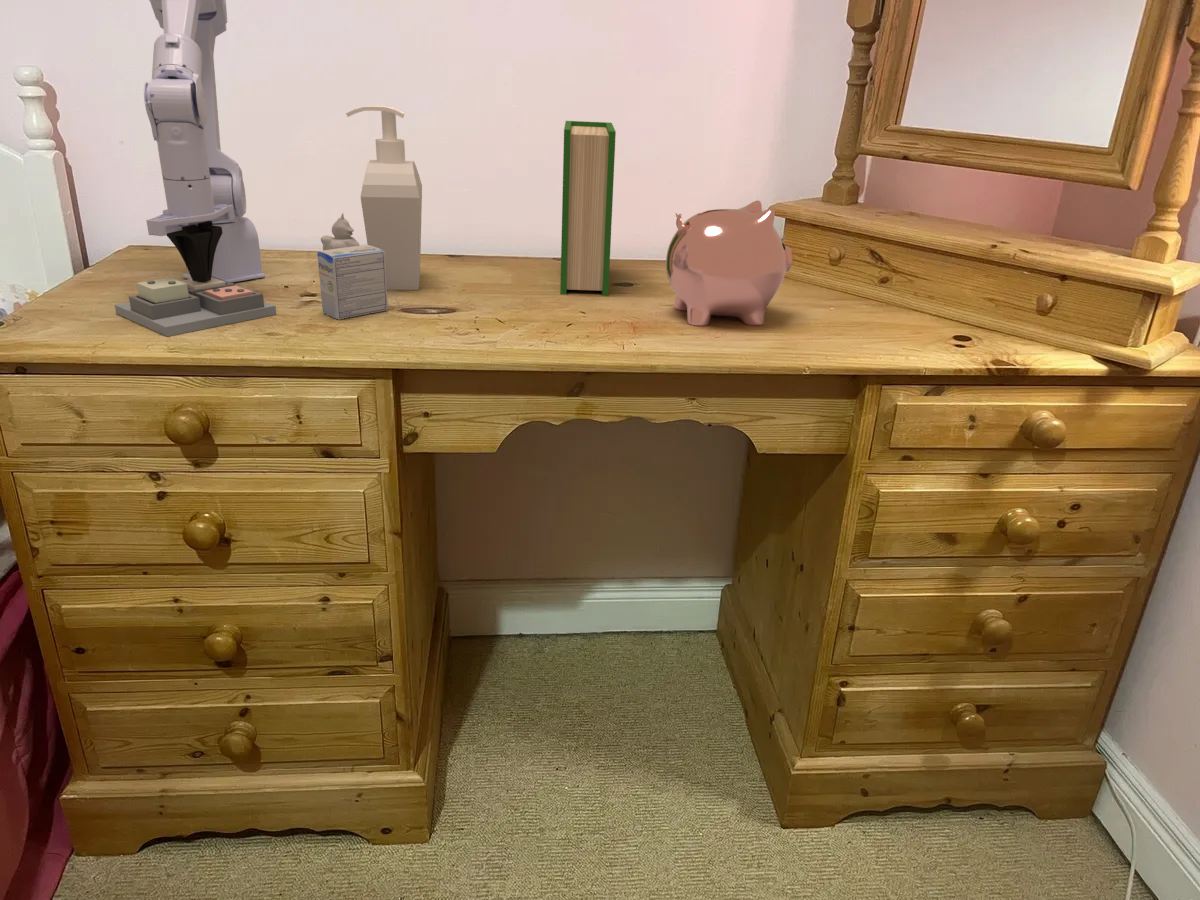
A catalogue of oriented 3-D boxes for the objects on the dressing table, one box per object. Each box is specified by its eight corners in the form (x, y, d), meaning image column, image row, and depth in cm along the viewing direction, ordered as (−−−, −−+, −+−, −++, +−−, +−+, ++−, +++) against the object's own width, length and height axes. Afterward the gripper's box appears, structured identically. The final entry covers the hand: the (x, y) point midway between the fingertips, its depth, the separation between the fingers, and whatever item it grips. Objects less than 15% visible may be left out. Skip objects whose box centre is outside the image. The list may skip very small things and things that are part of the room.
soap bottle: (362, 273, 143) (350, 102, 132) (425, 274, 144) (418, 105, 134) (355, 293, 131) (341, 107, 121) (423, 293, 133) (416, 110, 122)
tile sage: (172, 291, 117) (170, 276, 116) (188, 297, 114) (186, 282, 114) (138, 296, 114) (136, 281, 113) (155, 303, 111) (152, 287, 111)
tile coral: (237, 298, 121) (235, 283, 120) (254, 304, 118) (252, 290, 117) (206, 303, 117) (204, 289, 117) (223, 310, 115) (221, 295, 114)
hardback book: (608, 296, 136) (615, 131, 126) (560, 294, 136) (564, 129, 126) (605, 270, 152) (611, 122, 142) (562, 268, 152) (565, 120, 142)
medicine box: (372, 304, 126) (368, 243, 123) (389, 311, 123) (385, 249, 120) (321, 313, 121) (315, 250, 117) (338, 321, 118) (332, 256, 115)
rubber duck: (354, 263, 149) (351, 215, 146) (316, 261, 149) (312, 213, 146) (365, 257, 154) (362, 210, 151) (328, 255, 154) (324, 208, 151)
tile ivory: (210, 288, 125) (208, 274, 124) (227, 294, 122) (225, 280, 121) (180, 293, 121) (178, 279, 121) (196, 300, 119) (194, 285, 118)
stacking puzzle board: (222, 294, 128) (220, 274, 126) (276, 314, 120) (274, 292, 118) (116, 313, 117) (111, 291, 116) (167, 336, 109) (163, 312, 108)
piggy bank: (801, 330, 123) (817, 213, 117) (676, 331, 120) (685, 211, 114) (764, 301, 137) (777, 196, 130) (652, 302, 134) (659, 194, 127)
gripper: (197, 169, 123) (211, 266, 128) (119, 181, 110) (138, 289, 115) (241, 173, 121) (253, 271, 127) (167, 186, 108) (184, 294, 114)
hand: (201, 280), depth 121 cm, fingers closed, pressing on tile ivory
